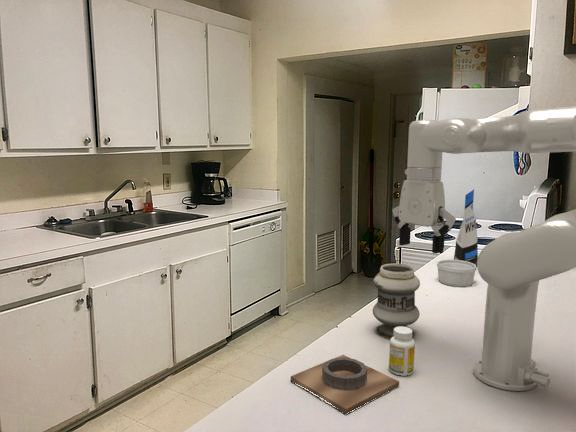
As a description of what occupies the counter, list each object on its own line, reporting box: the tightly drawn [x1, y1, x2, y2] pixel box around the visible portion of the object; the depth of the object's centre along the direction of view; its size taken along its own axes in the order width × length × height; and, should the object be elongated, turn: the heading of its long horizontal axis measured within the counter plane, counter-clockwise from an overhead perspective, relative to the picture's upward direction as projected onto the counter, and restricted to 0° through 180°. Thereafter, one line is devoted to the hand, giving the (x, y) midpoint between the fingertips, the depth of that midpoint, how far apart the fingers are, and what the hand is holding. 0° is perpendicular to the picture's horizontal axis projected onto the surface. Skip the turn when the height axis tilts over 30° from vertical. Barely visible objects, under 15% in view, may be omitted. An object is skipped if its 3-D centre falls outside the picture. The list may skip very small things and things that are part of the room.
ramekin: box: [436, 259, 477, 288], centre depth 169 cm, size 13×13×7 cm
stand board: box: [290, 354, 400, 415], centre depth 99 cm, size 16×16×4 cm
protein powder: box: [453, 189, 479, 268], centre depth 192 cm, size 10×24×30 cm, turn 152°
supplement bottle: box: [388, 326, 416, 377], centre depth 104 cm, size 5×5×10 cm
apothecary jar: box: [372, 263, 421, 340], centre depth 124 cm, size 12×12×18 cm
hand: (420, 248), depth 111 cm, fingers open, 9 cm apart
